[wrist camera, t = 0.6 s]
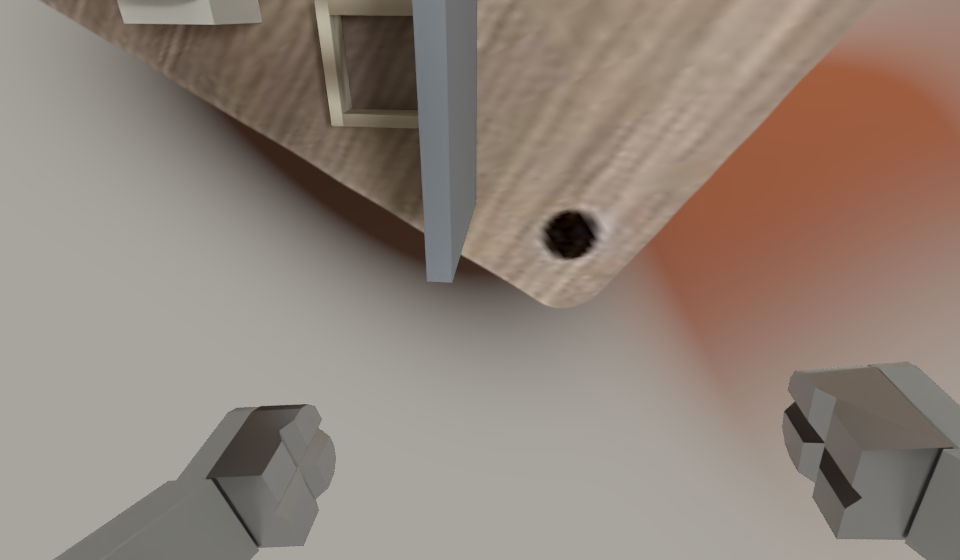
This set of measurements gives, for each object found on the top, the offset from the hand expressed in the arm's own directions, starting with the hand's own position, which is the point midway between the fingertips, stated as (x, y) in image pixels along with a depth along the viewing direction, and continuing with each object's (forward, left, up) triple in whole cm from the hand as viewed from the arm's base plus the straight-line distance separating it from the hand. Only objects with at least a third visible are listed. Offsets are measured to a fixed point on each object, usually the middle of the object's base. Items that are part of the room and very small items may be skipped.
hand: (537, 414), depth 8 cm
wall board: (-1, -7, -44) cm, 45 cm away
